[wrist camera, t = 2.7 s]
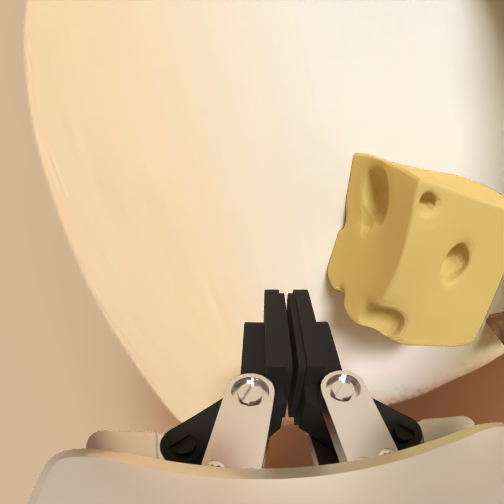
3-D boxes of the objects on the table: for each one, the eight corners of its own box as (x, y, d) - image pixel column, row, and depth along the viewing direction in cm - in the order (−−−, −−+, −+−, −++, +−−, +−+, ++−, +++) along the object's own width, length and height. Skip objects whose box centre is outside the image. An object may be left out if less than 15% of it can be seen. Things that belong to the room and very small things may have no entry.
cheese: (324, 269, 23) (354, 355, 14) (350, 142, 18) (419, 162, 9) (420, 279, 23) (472, 347, 14) (453, 172, 19) (533, 210, 10)
